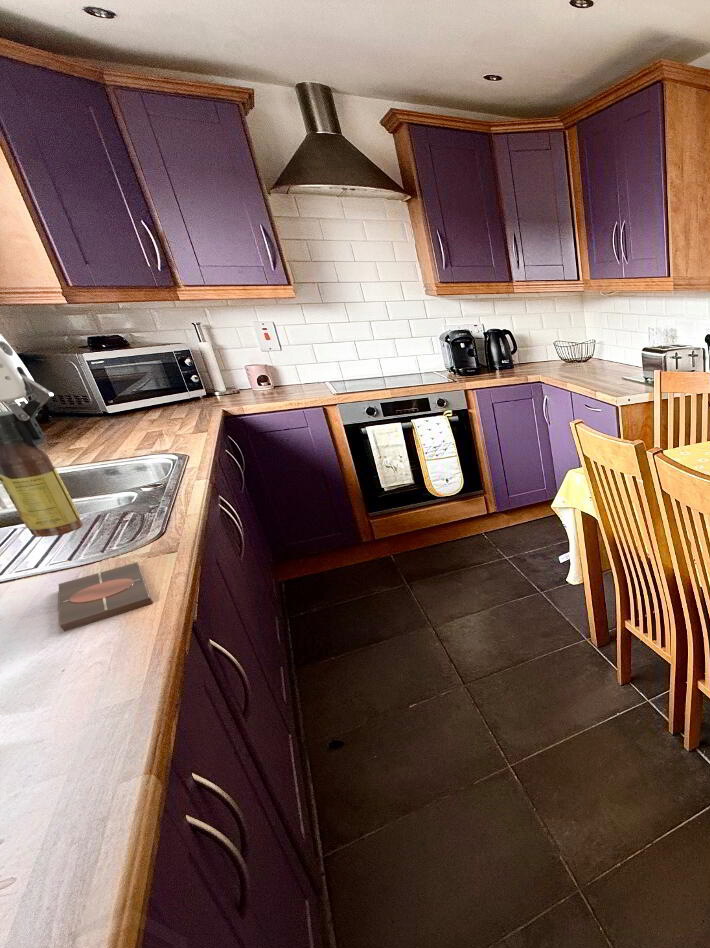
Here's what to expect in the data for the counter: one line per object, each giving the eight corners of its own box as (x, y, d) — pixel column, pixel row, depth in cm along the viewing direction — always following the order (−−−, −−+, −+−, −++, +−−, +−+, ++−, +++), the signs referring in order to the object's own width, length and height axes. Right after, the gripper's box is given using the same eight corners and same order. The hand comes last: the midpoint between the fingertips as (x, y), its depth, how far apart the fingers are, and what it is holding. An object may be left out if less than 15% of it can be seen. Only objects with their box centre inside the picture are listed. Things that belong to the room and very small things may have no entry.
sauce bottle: (48, 527, 99) (-13, 410, 91) (94, 522, 101) (38, 407, 93) (20, 541, 93) (-48, 418, 85) (69, 536, 95) (7, 415, 87)
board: (61, 589, 108) (58, 583, 107) (140, 567, 115) (137, 561, 114) (63, 631, 94) (59, 624, 93) (152, 603, 101) (149, 597, 100)
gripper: (36, 317, 90) (96, 433, 98) (-122, 327, 83) (-44, 451, 91) (11, 320, 84) (77, 443, 92) (-162, 331, 77) (-75, 463, 85)
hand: (16, 446), depth 91 cm, fingers closed on sauce bottle, 4 cm apart
